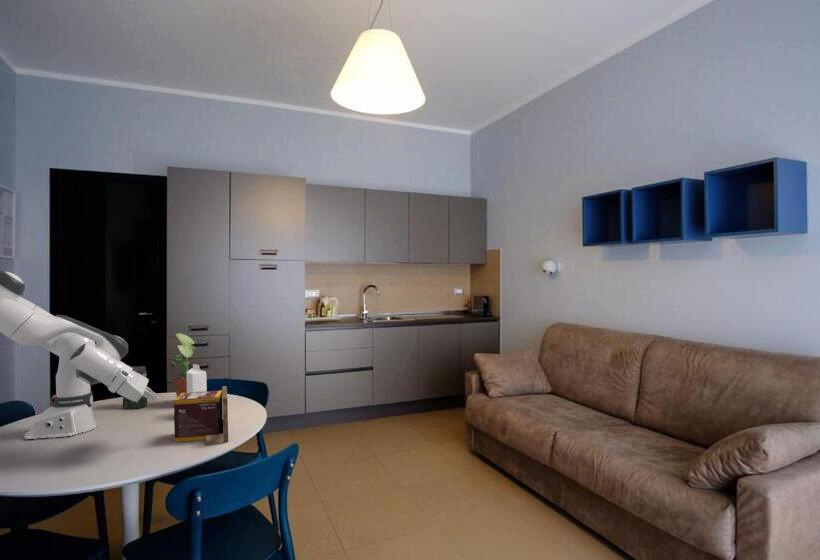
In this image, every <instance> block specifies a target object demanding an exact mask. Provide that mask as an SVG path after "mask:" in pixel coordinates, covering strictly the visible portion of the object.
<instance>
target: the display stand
mask: <svg viewBox="0 0 820 560" xmlns="http://www.w3.org/2000/svg"><path fill="white" fill-rule="evenodd" d="M221 387H222V389H221V390H222V407H223V431H222V433H221V434H215V435H207V436H206V440H205V442H206V443H205V444H206V446H209V445H216V444H217V445H218V444H223V443H224V444H225V443H229V412H228V409H229V408H228V407H229V406H228V403H229V402H228V387H227V385H225V386H221Z"/></svg>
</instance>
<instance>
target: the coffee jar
mask: <svg viewBox="0 0 820 560" xmlns="http://www.w3.org/2000/svg"><path fill="white" fill-rule="evenodd" d="M130 367H131V368H133V369H132V371H135V372H137V373H139V374H141V375H142V376H144V377H146V378H147V376H148V375H147V368H146V366H139V365H138V366H130ZM147 405H148V398H146V397H143V396H142V397H141V398H140V399H139V400H138V401H137V402H135V401H131V400H129V399H127V398H125V397H123V396H122V408H123V409H126V410H127V409H128V410H135V409H141V408H144V407H147Z"/></svg>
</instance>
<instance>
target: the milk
mask: <svg viewBox="0 0 820 560" xmlns="http://www.w3.org/2000/svg"><path fill="white" fill-rule="evenodd" d="M186 376H187V393H189V392H204V391H207V390H208V389H207V371H205V370H202V369H201V368H200V365H199V364H196V363H193V365H192V367H191V368H190V369H188V371H187V372H186Z"/></svg>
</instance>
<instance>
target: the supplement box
mask: <svg viewBox="0 0 820 560" xmlns="http://www.w3.org/2000/svg"><path fill="white" fill-rule="evenodd" d="M173 413H174V415H173V419H174V420H173V423H174V427H173V428H174V434H173V435H174V439H173V440H174V443H182V442H194V441H206V436H207V435H215V434H223V391H222V389H221V390H209V391H204V392H189V393H181V394H180V395H179V396H178V397H177V396H176V398H175V399H174V400H173Z"/></svg>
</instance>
